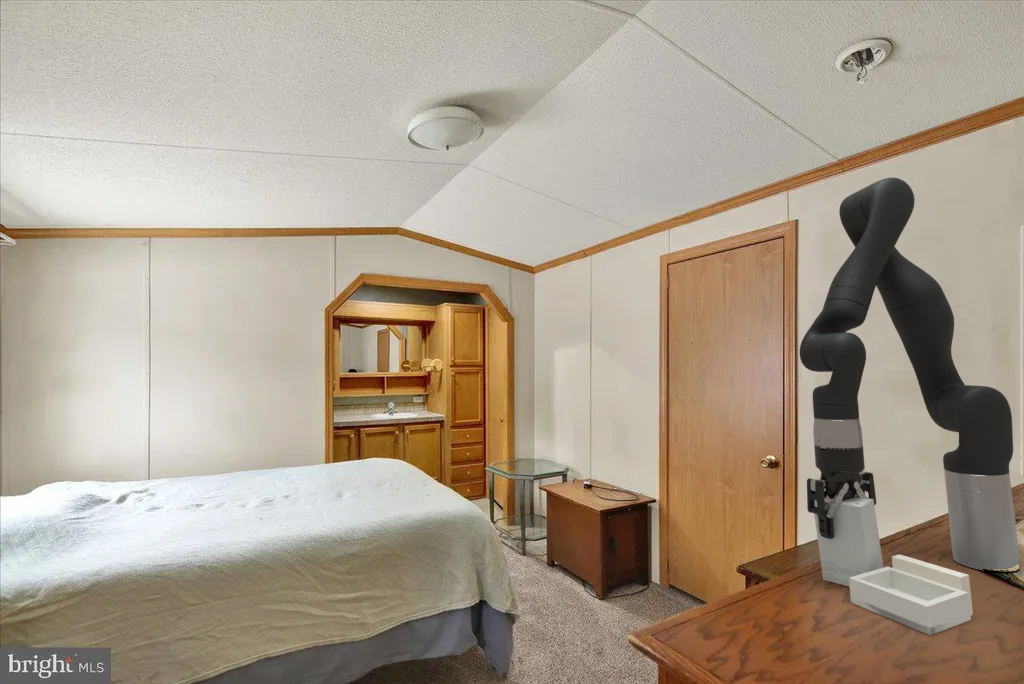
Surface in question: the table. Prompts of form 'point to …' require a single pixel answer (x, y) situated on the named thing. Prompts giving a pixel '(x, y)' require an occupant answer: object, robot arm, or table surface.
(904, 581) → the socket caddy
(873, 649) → the table surface
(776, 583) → the table surface
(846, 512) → the skincare box
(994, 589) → the table surface
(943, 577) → the wall
